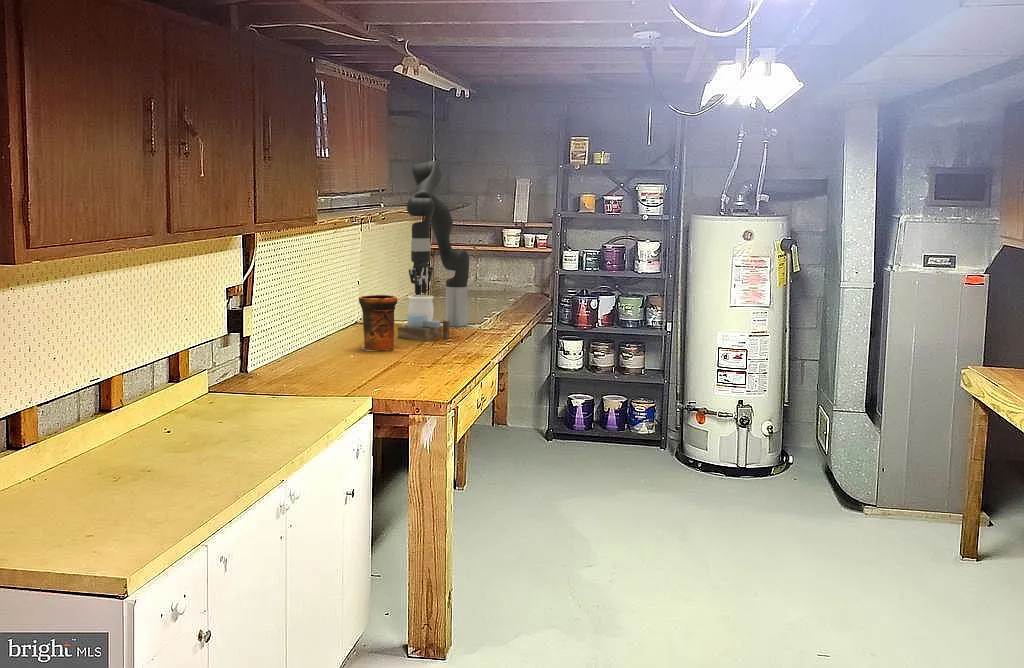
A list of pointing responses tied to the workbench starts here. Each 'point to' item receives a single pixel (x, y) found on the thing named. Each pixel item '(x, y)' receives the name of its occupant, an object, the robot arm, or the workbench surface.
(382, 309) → the vessel
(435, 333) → the cradle
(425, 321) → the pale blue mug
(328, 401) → the workbench surface
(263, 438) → the workbench surface
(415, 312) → the jar
